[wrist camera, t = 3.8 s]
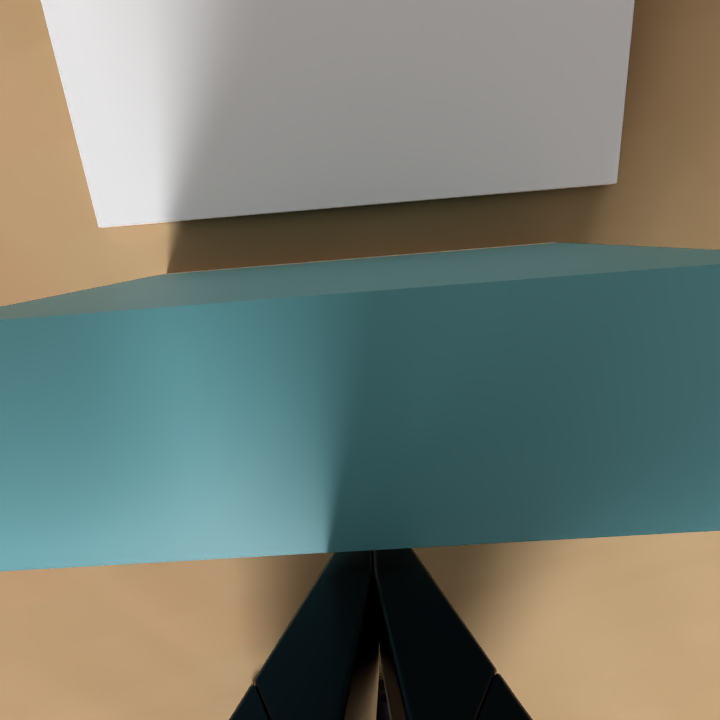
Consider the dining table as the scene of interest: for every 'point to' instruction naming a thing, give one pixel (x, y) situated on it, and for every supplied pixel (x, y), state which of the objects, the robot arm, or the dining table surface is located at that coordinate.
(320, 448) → the teal block
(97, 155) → the mat
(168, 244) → the dining table surface
